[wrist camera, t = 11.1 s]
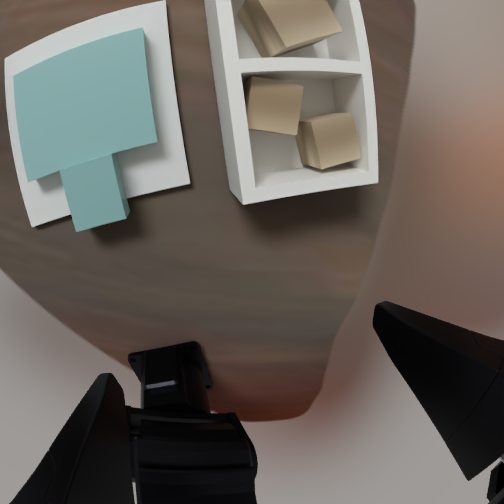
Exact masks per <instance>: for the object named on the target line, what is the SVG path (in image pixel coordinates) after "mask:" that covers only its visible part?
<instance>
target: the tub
mask: <svg viewBox="0 0 504 504" xmlns="http://www.w3.org/2000/svg"><path fill="white" fill-rule="evenodd" d="M326 1H327V3H328V4H329V6H330V8H331V10H332V11H333V13H334V15H335V17H336V19H337V21H338V22H339V24H340V26H341V28H342V30H343V31H342V32H340V33H338V34H335V35H333V36H331V37H329V38H327V39H324V40H322V41H320V42H318V43H316V44H314V45H311V46H308V47H305V48H301V49H298V50H295V51H292V52H289V53H286V54H284V55H281V56H278V57H269V58H261V56H260V54H259V52H258V50H257V49H256V47H255V45H254V43H253V42H252V40H251V38H250V36H249V35H248V33H247V31H246V30H245V28H244V26H243V25H242V23H241V21H240V20H239V18H238V16H237V13H238V11H239V10H240V8H241V7H242V5H243V4H244V2H245V0H204V5H205V13H206V21H207V29H208V37H209V45H210V52H211V60H212V68H213V75H214V83H215V90H216V98H217V105H218V112H219V119H220V126H221V134H222V141H223V148H224V155H225V161H226V168H227V175H228V182H229V189H230V191H231V192H232V193H233V194H234V195H235V196H236V197H237V199H238V200H239V201H240V202H241V203H242V204H243V205H245V204H251V203H256V202H261V201H267V200H272V199H278V198H283V197H289V196H295V195H301V194H307V193H313V192H319V191H325V190H332V189H338V188H345V187H352V186H359V185H366V184H373V183H378V142H377V122H376V108H375V97H374V87H373V78H372V70H371V62H370V56H369V49H368V43H367V37H366V32H365V26H364V21H363V16H362V12H361V7H360V3H359V0H326ZM252 76H255V77H261V78H266V79H272V80H277V81H282V82H286V83H291V84H295V85H300V86H304V87H303V94H302V102H301V109H300V116H299V120H300V119H304V118H308V117H313V116H317V115H322V114H327V113H352V114H353V118H354V123H355V128H356V133H357V138H358V144H359V149H360V155H361V158H359V159H356V160H352V161H349V162H345V163H342V164H338V165H335V166H332V167H328V168H325V169H322V170H321V169H319V168H316V167H313V166H310V165H306V164H303V163H301V159H300V155H299V151H298V147H297V143H296V139H295V135H287V134H277V133H270V132H263V131H256V130H248V123H247V115H246V107H245V99H244V92H243V84H242V82H244V81H245V80H247V79H249V78H250V77H252Z"/></svg>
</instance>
